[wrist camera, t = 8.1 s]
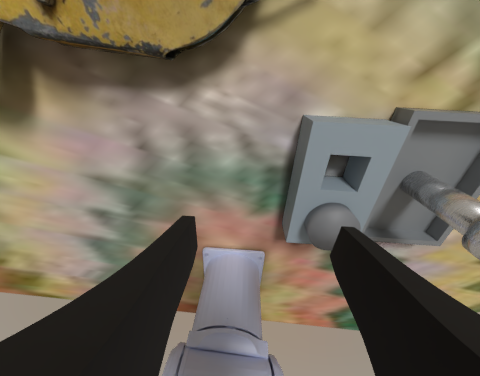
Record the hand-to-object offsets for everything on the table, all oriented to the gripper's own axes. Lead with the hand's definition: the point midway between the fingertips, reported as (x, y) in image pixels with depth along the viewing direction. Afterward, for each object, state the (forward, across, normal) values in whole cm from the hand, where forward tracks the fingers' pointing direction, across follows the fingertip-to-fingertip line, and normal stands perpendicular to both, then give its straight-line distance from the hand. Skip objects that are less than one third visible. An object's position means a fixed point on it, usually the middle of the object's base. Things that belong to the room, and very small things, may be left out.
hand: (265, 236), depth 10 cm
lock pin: (+10, -15, +1) cm, 18 cm away
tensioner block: (+10, -7, +2) cm, 13 cm away
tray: (+10, -16, +1) cm, 19 cm away
